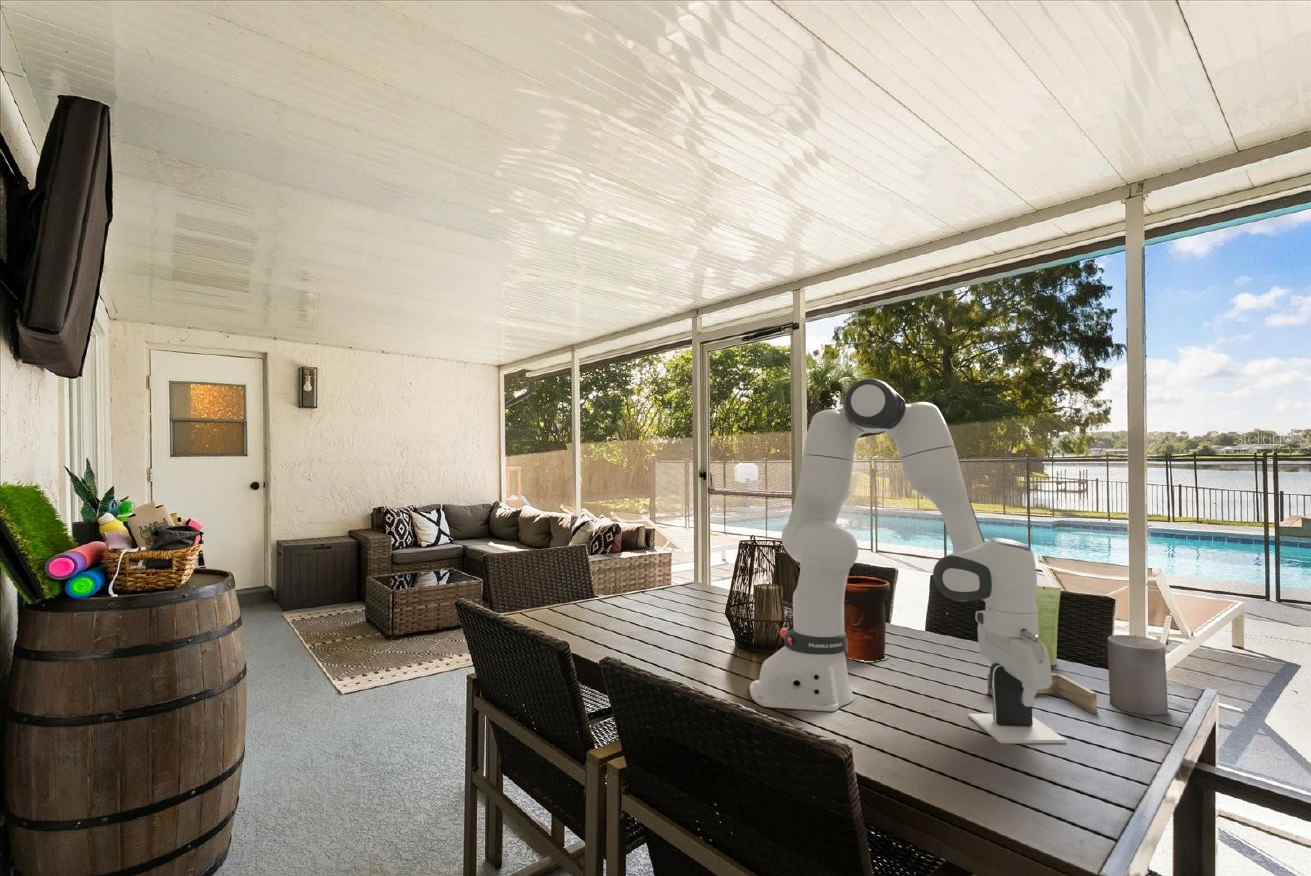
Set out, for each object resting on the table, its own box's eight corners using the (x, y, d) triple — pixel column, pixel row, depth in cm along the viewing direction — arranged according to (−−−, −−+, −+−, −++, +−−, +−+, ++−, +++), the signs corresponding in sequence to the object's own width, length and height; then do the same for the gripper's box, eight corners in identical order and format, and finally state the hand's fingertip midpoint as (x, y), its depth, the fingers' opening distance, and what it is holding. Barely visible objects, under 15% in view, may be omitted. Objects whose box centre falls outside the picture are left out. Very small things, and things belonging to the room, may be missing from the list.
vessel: (830, 645, 175) (830, 574, 176) (882, 648, 173) (883, 576, 174) (837, 662, 161) (838, 584, 162) (895, 665, 159) (895, 586, 160)
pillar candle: (1114, 694, 137) (1111, 626, 138) (1171, 706, 130) (1168, 634, 131) (1105, 707, 130) (1102, 635, 131) (1165, 721, 123) (1161, 644, 124)
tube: (1047, 659, 162) (1044, 583, 163) (1063, 665, 157) (1061, 587, 158) (1028, 660, 161) (1026, 584, 161) (1045, 667, 156) (1042, 588, 156)
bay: (1018, 713, 127) (1018, 693, 127) (987, 691, 139) (987, 673, 139) (1097, 713, 127) (1096, 693, 127) (1059, 691, 139) (1059, 673, 139)
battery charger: (1025, 719, 123) (1023, 660, 123) (1034, 727, 119) (1032, 667, 120) (988, 718, 124) (986, 659, 124) (996, 726, 120) (994, 666, 120)
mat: (1000, 743, 114) (1000, 740, 114) (968, 716, 126) (968, 713, 126) (1066, 743, 114) (1066, 739, 114) (1027, 716, 126) (1027, 713, 126)
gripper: (1060, 638, 110) (1063, 717, 110) (1002, 611, 131) (1004, 677, 130) (1024, 638, 110) (1026, 717, 110) (971, 610, 131) (973, 677, 130)
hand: (1013, 695), depth 120 cm, fingers open, 8 cm apart
